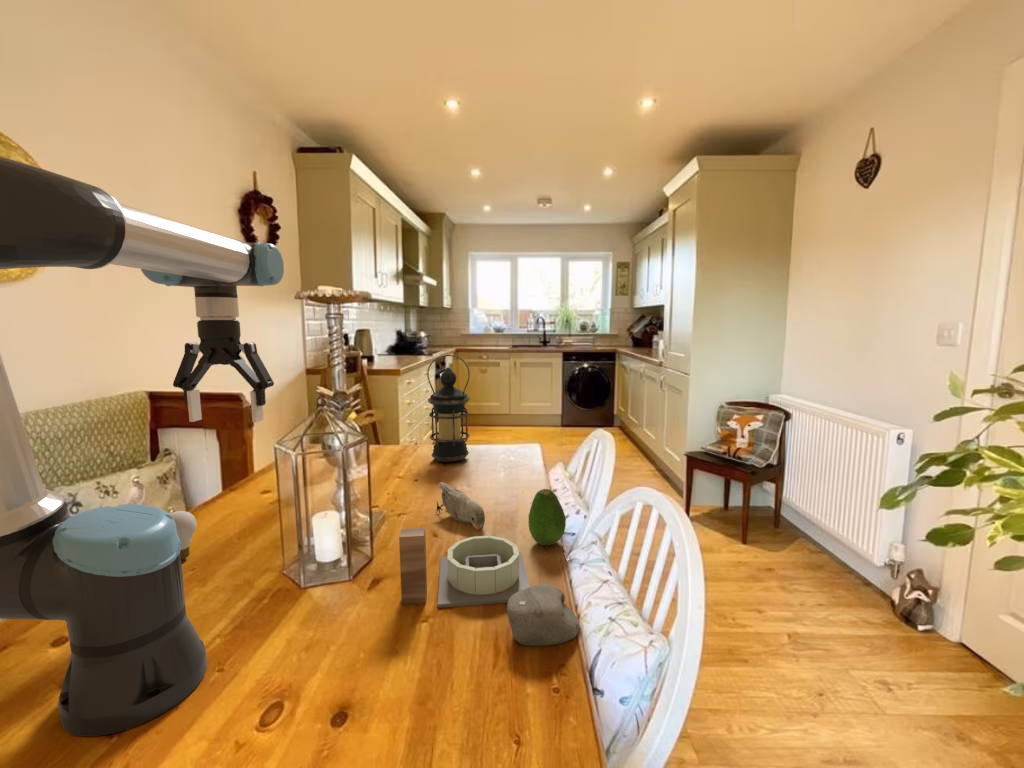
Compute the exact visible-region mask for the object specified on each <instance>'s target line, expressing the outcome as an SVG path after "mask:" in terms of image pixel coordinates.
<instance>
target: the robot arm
mask: <svg viewBox="0 0 1024 768" xmlns="http://www.w3.org/2000/svg"><path fill="white" fill-rule="evenodd" d="M109 265H115V266H121V267H128V268H135V269H139V270H141V273H142V274H143V275H144V277H145V278H147V280H149V281H151V282H153V283H154V284H158V285H165V286H166V287H184V288H185V287H186V288H193V289H194V290H193V291H194V303H195V315H196V318H199V319H200V320H197V322H196V326H197V328H196V329H197V336H198V338H199V339H200V343H198V342H186V343H184V354H183V357H182V358H181V362H180V365H179V367H178V368H177V369H178V370H177V372H176V375H175V377H174V380H173V383H172V386H173V387H174V388H178V389H181V390H182V391H183V400H184V404H185V406H187V409H188V420H189V423H195V422H197V421H201V420H203V416H202V405H201V394H200V389H199V388H198V387H197V386H198V384H199V383H200V382H201V380H202V379H203V377H204V376H205V375H206V373H207V372H208V371H209V370H210V368H211V367H212V366H214V365H215V366H217V365H222V366H223V365H225V366H227V365H228V366H229V365H230V366H231V367H233V368H234V369H235V370H236V371H237V372H238V373H239V375H241V377H242V378H243V379H244V380H245V382H247V383H248V384H249V386H251V388H252V389H253V390H250V391H249V394H250V406H251V407H250V409H251V419H252V423H258V422H259V423H260V422H261V421H264V410H263V407H264V406H265V405H266V403H267V401H266V400H267V399H266V390H267V389H268V388H271V387H273V386H274V385H275V382H274V380H273V378H272V377H271V375H270V373H269V371H268V370H267V367H266V365H265V363H264V362H263V361H262V359H261V357H260V355H259V353H258V349H257V344H256V343H255V342H245V343H243V344H242V343H241V336H242V335H241V322H240V321H239V319H238V320H237V318H238V317H240V313H239V299H238V287H264V286H275V285H278V284H279V283H280V282H281V281H282V279H283V277H284V272H285V269H284V260H283V255H282V253H281V252H280V249H279V248H278V247H277V246H276V245H274V244H273V243H269V242H259V241H256V242H244V241H242V240H239V239H235V238H232V237H228V236H225V235H221V234H217V233H214V232H212V231H209V230H204V229H202V228H199V227H196V226H192V225H189V224H186V223H183V222H180V221H177V220H173V219H171V218H167V217H164V216H161V215H158V214H154V213H151V212H148V211H145V210H142V209H139V208H135V207H133V206H129V205H126V204H123V203H120V202H118V201H117V199H116V198H114V197H113V196H112V194H110V193H109V192H107V191H106V190H104V189H102V188H101V187H99V186H95V185H92V184H90V183H86V182H83V181H80V180H77V179H75V178H71V177H68V176H65V175H62V174H59V173H56V172H53V171H51V170H47V169H43V168H41V167H38V166H33V165H31V164H28V163H24V162H21V161H18V160H14V159H10V158H7V157H3V156H1V155H0V271H1V270H13V269H28V268H29V269H30V268H31V269H33V268H50V267H52V268H55V267H57V268H60V267H61V268H64V267H65V268H67V267H68V268H77V269H85V270H99V269H102V268H105V267H107V266H109ZM241 352H242V353H243V354H244V355H245V358H246V360H247V362H248V363H249V365H250V366H249V365H248V364H247V363H246V360H245V358H244V357H243V356H242V355H241ZM200 353H201V354H202V356H201V357H200V359H199V360H198V362H197V364H196V361H197V359H198V356H199V354H200ZM195 364H196V366H195ZM194 366H195V368H194ZM26 432H27V431H26V429H25V426H24V422H23V419H22V417H21V414H20V411H19V407H18V405H17V402H16V398H15V395H14V392H13V388H12V385H11V383H10V380H9V377H8V374H7V371H6V368H5V365H4V360H3V358H2V355H1V354H0V619H1V620H2V619H3V620H46V621H64V622H65V623H66V627H67V635H68V640H69V641H68V642H69V646H70V647H69V648H70V657H69V660H68V665H67V668H66V672H65V674H64V678H63V682H62V686H61V690H60V694H59V697H58V701H57V702H58V703H57V705H58V706H57V708H58V714H59V720H60V724H61V727H62V728H63V730H65V731H66V732H68V733H69V734H72V735H75V736H80V737H97V736H98V737H99V736H106V735H110V734H111V735H112V734H115V733H118V732H119V733H120V732H122V731H125V730H129V729H131V728H134V727H137V726H140V725H142V724H145V723H146V722H149V721H151V720H152V719H154V718H157V717H159V716H160V715H162V714H165V712H167V711H168V710H170V709H172V708H174V707H175V706H176V705H178V704H179V703H180V702H182V701H183V700H184V699H185V698H187V697H188V696H189V695H190V694H191V693H192V692H193V691H194V690H195V689H196V688H197V686H199V684H200V683H201V681H202V680H203V678H204V676H205V675H206V672H207V668H208V659H207V658H208V657H207V649H206V645H205V644H204V642H203V641H202V639H201V638H200V636H199V634H198V632H197V630H196V629H195V627H194V625H193V624H192V621H190V619H189V617H188V615H187V609H186V599H185V589H184V576H183V566H182V561H181V553H180V550H181V543H180V540H179V537H178V535H177V529H176V524H175V522H174V519H173V517H172V516H171V515H170V514H171V513H169V512H168V511H166V510H164V509H162V508H159V507H157V506H153V505H148V504H147V505H146V504H138V503H137V504H135V503H134V504H133V503H130V504H129V503H128V504H119V505H116V506H111V505H108V506H107V505H106V506H101V507H95V508H93V509H92V508H91V509H89V510H85V511H81V512H79V513H77V514H74V515H72V516H70V512H69V510H68V509H69V508H68V506H67V503H66V500H65V496H64V495H63V494H62V493H60V492H58V491H54V490H51V489H47V488H44V484H43V481H42V478H41V475H40V473H39V469H38V466H37V464H36V463H37V462H36V460H35V457H34V456H35V455H34V454H33V451H32V447H31V444H30V442H29V438H28V435H27V433H26Z"/></svg>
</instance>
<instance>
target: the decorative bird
mask: <svg viewBox="0 0 1024 768" xmlns="http://www.w3.org/2000/svg"><path fill="white" fill-rule="evenodd" d="M437 486H438V488H439V489H440V490H442V492H441V500H442V501H441V502H442V503H441V504H440V505H439V503H438V501H436V512H435V514H437V513H439V514H440V513H441V511H443V508H442V507H445V511H447V513H448V514H449V515H450V516H451V517H452V518H453V519H454V520H456V521H458V522H463V523H467V524H468V523H472V524H473V525H474V526H475V527H476V528H477V529H478V531H480V532H482V531H483V529H484V527H485V521H486V517H485V516H486V515H485V511H484V508H483V507H482V506H481V504H479V503H478V502H476V501H475V500H473V499H471V498H470V497H469V495H467V494H466V493H464V492H463V491H461V490H459V489H456V488H453V486H451V485H449V484H447V483H446V482H443V481H440V482H439V484H437Z"/></svg>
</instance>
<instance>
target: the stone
mask: <svg viewBox="0 0 1024 768" xmlns="http://www.w3.org/2000/svg"><path fill="white" fill-rule="evenodd" d="M565 602H566V596H565V594H564V591H563V590H562V589H561V588H559V587H557V586H555V585H554V584H553V585H552V584H548V583H539V584H536V585H533V586H530V587H529V588H526V589H524V590H522V591H519V592H517V593H515V594H513V595H512V596H511V597H510V598H509V600H508V603H506V604H507V605H506V606H507V607H506V610H507V611H506V614H507V618H508V622H509V626H510V630H511V633H512V635H513V637H514V639H515V640H516V642H517V643H519V644H520V645H522V646H528V647H529V646H530V647H541V646H542V647H545V646H554V645H561V644H564V643H566V642H571V641H572V640H574V639H575V638H577V636H578V633H579V631H581V630H582V628H581V627H580V624H581V623H580V620H579V619H578V617H577V616H576V614H575V613H574V611H573V609H571V608H570V607H568V605H567V604H565Z"/></svg>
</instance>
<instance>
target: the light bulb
mask: <svg viewBox="0 0 1024 768" xmlns="http://www.w3.org/2000/svg"><path fill="white" fill-rule="evenodd" d="M169 514H170V515H171V516H172V517H173V519H174V522H175V524H176V529H177V535H178V537H179V540H180V543H181V550H180V553H181V562H182V561H185V560H186V559H187V558H188V557H189V556H190V549H191V548H190V545H191V541H192V538H193V535H194V533H195V532H196V529H197V523H198V522H197V519H196V517H195V515H194V514H192V512H189V511H187V510H186V511H185V510H177V511H173V512H171V513H169Z"/></svg>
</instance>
